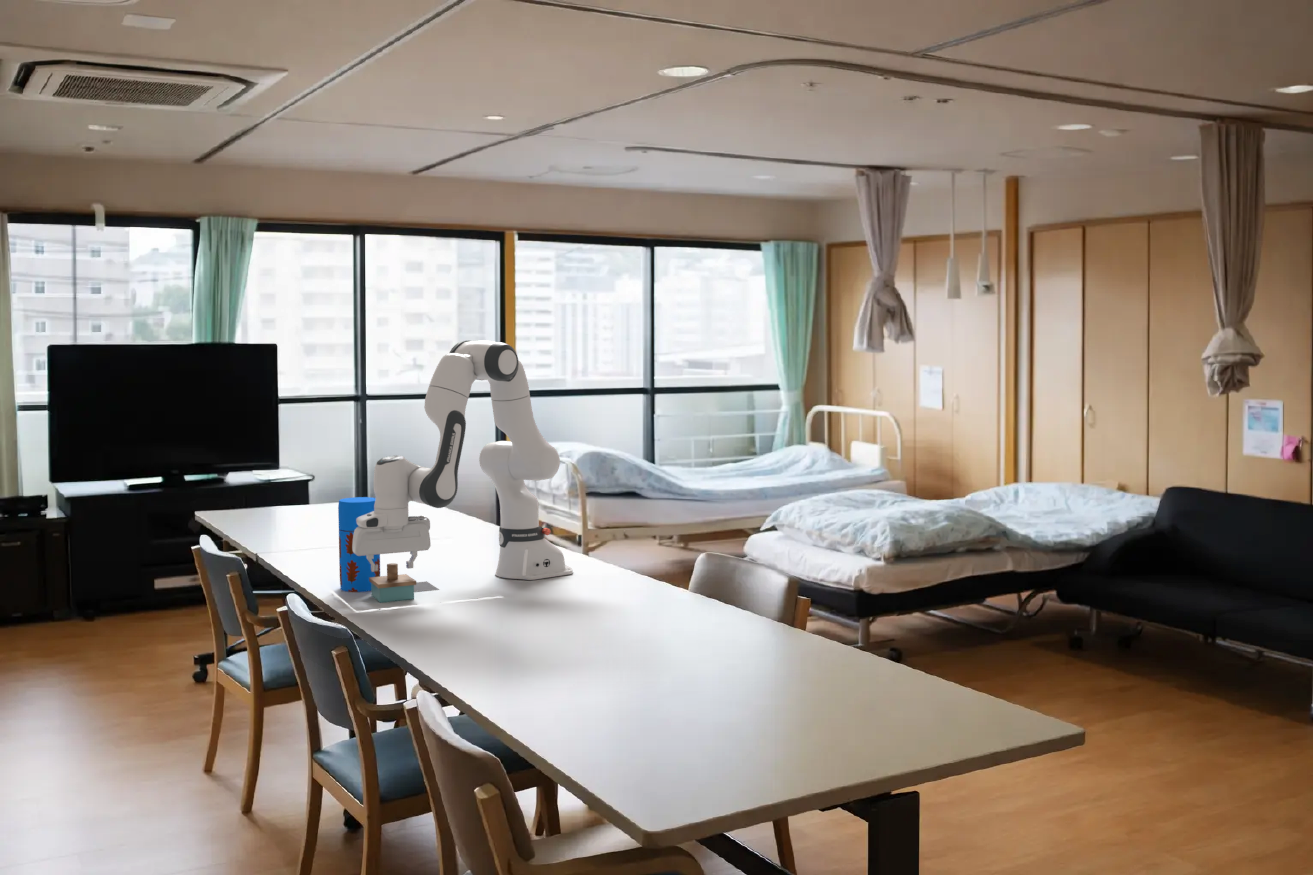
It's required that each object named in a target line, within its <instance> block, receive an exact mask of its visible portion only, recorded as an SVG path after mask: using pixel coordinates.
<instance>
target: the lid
mask: <svg viewBox="0 0 1313 875" xmlns="http://www.w3.org/2000/svg"><path fill="white" fill-rule="evenodd" d="M369 581H370V582H371V583H372V584H373V585H375V586H376V587H377V588H388V587H398V586H409V585H416V582H417V580H415V579H414V578H413V577H411V576H410V575H408V574H407V573H404V574H399V564H398V563H396V562H395V563H394V562H392V563H387V564H386V575H384V576H383V575H382V576H381V575H380V577H369Z"/></svg>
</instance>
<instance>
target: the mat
mask: <svg viewBox="0 0 1313 875" xmlns="http://www.w3.org/2000/svg"><path fill="white" fill-rule="evenodd" d="M431 591H432V592H433V591H440V589H439V588H437V586H435V585H433V584H432V583H430V582H429V581H416V585H414V593H421V592H431Z"/></svg>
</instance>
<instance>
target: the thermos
mask: <svg viewBox="0 0 1313 875" xmlns="http://www.w3.org/2000/svg"><path fill="white" fill-rule="evenodd" d="M374 504H375V497H369V496H363V497H362V496H357V497H356V496H354V497H344V498H340V499H339V500H338V507H337V509H338V510H337V511H338V512H337V514H338V546H339V547H338V552H339V554H338V557H339V558H338V559H339V585H340V586H339V587H340V590H341V591H343V592H348V593H349V592H350V593H362V592H363V593H364V592H365V593H366V592H371V582H370V581H369V577H380V576H381V554H377V555H374V559H372V561H373V563H374V564H377V565H378V571H375V572H372V571H371V564H370V563H369V561H368V560H367V558H366V555H365V556H357V555H356V554H354V552H353V550H352V544H353V534H354V531H355V529H356V528H357V527H358V525H357V523H356V519H357V518H358V517H360V516H362V515H365V514H368V513H370V512H373V511H374Z"/></svg>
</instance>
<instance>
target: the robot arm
mask: <svg viewBox="0 0 1313 875" xmlns="http://www.w3.org/2000/svg"><path fill="white" fill-rule="evenodd" d="M475 381H488V383H489V389H490V398H491V405H492V414H493V421H494V424H495V426H496V427H497V429H499V430H500V431H501V432H503V433H504V434H505V435H506V436H507V438H508V439H509V440H498V441H493V442H487V444H485V445H484V446H483V447H482V449H481V450H480V453H479V458H478V460H479V461H478V462H479V466H480V468H481V471H482V472H483V473H484V474H485V475H486V476H487V477H489V479H490V480H491V482H492V484H493V486H494V487H495V490H496V494H497V497H498V500H499V509H500V510H499V511H500V512H499V513H500V526H499V530H498V544H499V554H498V562H497V567H496V570H495V576H497V577H499V578H503V579H515V580H517V579H518V580H528V581H534V580H540V579H547V578H553V577H555V578H556V577H561V576H567V575H572V574H573V573H574V572H573V568H572V567H571V566H569V565H566V562H565V557H564V554H563V552H562V550H561V549H560V548H559V547H557V546H556V545H554V544H553V543H552V542H551V541H549V540H548V539H546V538H545V537H546V536H550V534H551V533H552V531H551V529H550V528H548V527H542V526H540V524H539V523H540V522H539V519H540V518H539V517H540V516H539V511H540V510H539V505H540V504H539V500H538V498H537V497H536V495H534V494H533V493H532V492H530V490H529V489H528V488H527V486H526V483H525V481H534V482H536V481H538V482H539V481H544V480H545V481H546V480H548V479H549V480H550V479H552V478H554V477H555V476H556V474H557V473H558V471H559V468H560V464H561V460H560V454H559V452H558V451H557V449H556V448H555V447H554V446H552V444H550V443H549V442H548V441H547V440H546V438H544V436H543V435H542V433H541V431H540V430H539V428H538V425H537V423H536V421H535V418H534V413H533V407H532V402H531V401H532V400H531V395H530V394H531V393H530V387H529V382H528V378H527V374H526V371H525V368H524V365H523V363H522V362H521V361H520V360H519V358H518V353H517V352H516V350H515V349H514V347H513V346H512V345H510V344H508V343H505V342H501V341H494V340H486V339H485V340H463V341H460V342H457V343H455V344H454V345H453V346H452V348H451V349H450V351H449V353H447V354H445V355H443V356H442V357H441V358H440V360H439V362H438V364H437V366H436V368H435V370H434V372H433V374H432V377H431V379H430V381H429V384H428V388H427V391H426V395H425V398H424V411H425V413H426V416H427V417H428V418H429V420H430V421H431V422H432V423H433V424H435V426H436V427H437V428H438V430H439V436H440V438H439V443H438V447H437V453H436V457H435V463H434V465H433V466H432V468H431V467H426V466H421V465H419V464H415V463H413V462H411V461H410V460H407V459H406V458H405V456H403V455H399V454H398V455H397V454H395V455H389V456H384V457H382V458H380V459H379V460H377V461H376V463H375V466H374V471H373V493H374V498H375V504H374V511H373V512H370V513H368V514H365V515H362V516H360V517H358V518H357V519H356V523H357V525H358V527H357V528H356V529H355V531H354V534H353V544H352V550H353V552H354V554H356V555H357V556H365V555H366V558H367V560H368V561H369V563H370V564H371V571H372V572H375V571H378V565H377V564H374V563H373V561H372V559H374V555H377V554H380V555H388V554H400V553H409V554H410V555H411V556H410V558H409V560H407V561H405V563H406V565H405V566H406V569H414V562H415V560H416V559H417V557H418V552H423V551H429V549H430V548H431V546H432V545H431V537H430V530H431V520H430V518H428V517H426V516H425V515H418V516H417V515H414V516H413V515H412V516H409V502H415V503H418V504H423V505H427V506H429V507H432V508H435V509H443V508H445V507H448V506H449V505H450V504H451V503H452V502H453V501H454V499H455V498H456V495H457V493H458V488H459V487H458V485H459V483H458V476H459V474H458V472H459V466H460V461H461V455H462V451H463V445H464V442H465V436H466V425H467V421H466V418H465V417H466V410H467V409H466V408H467V403H468V400H469V397H470V393H471V390H472V385H473V383H474V382H475Z"/></svg>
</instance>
